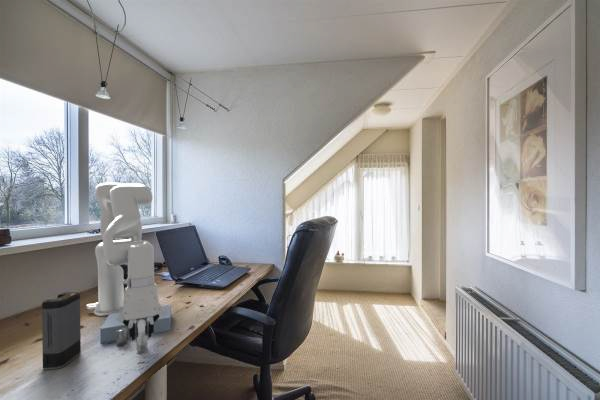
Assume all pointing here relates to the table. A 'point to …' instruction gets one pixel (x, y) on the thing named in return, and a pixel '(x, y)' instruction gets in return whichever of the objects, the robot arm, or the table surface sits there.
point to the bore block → (112, 324)
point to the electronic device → (61, 330)
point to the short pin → (121, 337)
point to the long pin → (141, 335)
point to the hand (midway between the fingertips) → (141, 336)
